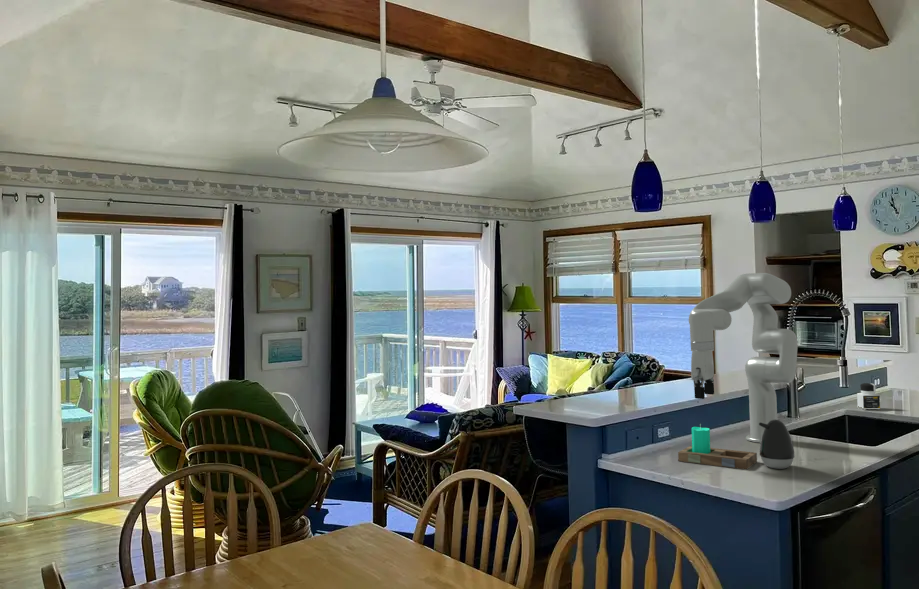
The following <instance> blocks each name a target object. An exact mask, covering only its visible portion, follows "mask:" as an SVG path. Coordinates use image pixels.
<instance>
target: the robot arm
mask: <svg viewBox="0 0 919 589" xmlns="http://www.w3.org/2000/svg"><path fill="white" fill-rule="evenodd" d="M791 297H792V289H791V286H790V285H789V283H788V282H786V280H784V279H782V278H779V277H777V276H776V275H774V274H772V273H768V272H754V273H743V274H740V275H738V276H737V277H736V278H735V279H734V280H733V281H732V282H731V283H730V284H729V285H728V286H727V287H726V288H725V289H724V290H723V291H721V292H718V293H715V294H714V295H712V296H710V297H706V298H705V299H703V300H701V301H700V302H698V303H697V304H696V305H695V306H694V307H693V308H692V310H690V312H689V315H688V324H689V335H690V337H689V339H690V351H691V357H690V358H691V360H690V364H691V365H690V368H691V369H690V370H691V371H690V375H691V376H690V378H691V380H692V382H693V387H694V388H693V390H694V391H693V392H694V399H699V400H705V398H706V396H705V395H715V380H714V377H715V366H714V365H715V364H714V355H713V352H714V351H715V342H714V331H724V330H726V329H728V328H729V327H730V326H731V324H732V320H733V319H732V315H731V314H730V313H732V312H736V311H738V310H740V309H742V308H743V306H744V305H745V304H746V303H747V305H749V308H750V309H751V312H752V316H753V325H752V326H753V327H752V337H751V338H752V339H751V346H752V350H753V351H754V352H756V353H759V354H766V355H767V354H771V355H772V354H773V355H779V357H774V356H773V357H772V356H753V357H751V358H748V360H747V361H746V362H745V365H744V370H745V375H746V378H747V385H748V386H747V387H748V400H749V405H748V406H749V407H748V408H749V427H750V428H749V433H750V434H747V435H746V437H745V440H746V441H749V442H754V443H757V444H758V443H761V438H762V434H763V431H764V429H765V428H764V427H762V426H760V425H759V423H760V422H761V423H764V424H768V422H769V421H771V420H778V408H777V406H778V405H777V404H778V403H777V399H778V398H777V392H776V390H775V388H774V386H772V384H790V383H792V382H794V380H795V377H796V371H797V360H798V359H797V358H798V349H799V348H798V347H799V346H798V343H799V342H798V339H797V338H798V337H797V334H796V333H795V332H794V331H793V330H792V329H788V328H778V324H779V323H778V322H779V317H778V313H777V312H776V310H775V309H774V308H773V306H772V305H782V304H786V303H788V302H789V300H790V299H791ZM771 383H772V384H771Z"/></svg>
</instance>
